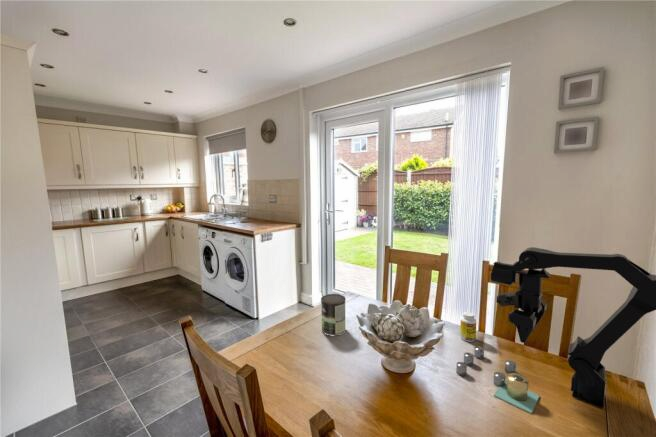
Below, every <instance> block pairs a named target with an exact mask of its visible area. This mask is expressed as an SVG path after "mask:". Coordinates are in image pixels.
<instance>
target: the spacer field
mask: <svg viewBox="0 0 656 437" xmlns="http://www.w3.org/2000/svg"><path fill="white" fill-rule="evenodd" d="M473 348H474V351H473V353H471V352H464V353H463V361H457V362H456V368H455V369H456V375H458V376H460V377H467V372H468V371H467V370H468V367H473V366H474V364H475V362H474V361H475V360H474V359H475V358H476V359H478V360H484V358H485V349H484V347H481V346H477V345H475V346H474V347H473ZM467 366H468V367H467ZM504 371H505V373H506V374H507V375H508V374H509V373H517V362H515V361H513V360H509V359H506V360H505V361H504ZM506 379H507V378H506V375H505V374H504V373H502V372H499V371H494V372H493V385H494V386H496V387H497V388H499V386H502V387H503V386H505V381H506Z"/></svg>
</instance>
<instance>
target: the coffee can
mask: <svg viewBox="0 0 656 437" xmlns="http://www.w3.org/2000/svg"><path fill="white" fill-rule="evenodd" d="M320 302H321V332H322V331H323V332H324V333H326V334H328V335H340V334H342V335H344V334H345V333H344V332H346V331H345V329H346V297H345V296H344V295H342V294H339V293H330V294H329V293H328V294H325V295H323V296H321V298H320ZM323 332H322V333H323ZM324 333H323V334H324ZM343 333H344V334H343ZM328 335H327V336H328ZM340 336H341V335H340Z"/></svg>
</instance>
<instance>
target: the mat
mask: <svg viewBox="0 0 656 437" xmlns="http://www.w3.org/2000/svg"><path fill="white" fill-rule="evenodd" d="M506 389H507V380H505V386H503V387H502V386H499V387H497V390H496V391H495V392H494V394H493V397H494V398H496V399H497V398H498V399H499V400H501V401H503V402H505V403H508V404H510V405H512V406H514V407H516V408H519V409H521V410H523V411H524V412H526V413H529V414H531V415H532V414H533V411H534V409H535V407H536V405H537V403H538V401H539V399H540V397H541V396H540V394H537V393H536V392H532V391H531V390H528V396H527V400H526V401H517V400H514V399H512V398H511V397H510V396H508V394H507V393H506Z"/></svg>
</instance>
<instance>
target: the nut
mask: <svg viewBox="0 0 656 437" xmlns="http://www.w3.org/2000/svg"><path fill="white" fill-rule="evenodd" d="M506 381H507V389H506V393H507V394H508V396H510V397H511V398H512V399H514V400H517V401H526V400H527V396H528V391H529V383H530V382H529V380H528V378H526V377H525V376H524V375H522V374H521V373H517V372H516V373H509V374H508V373H507V378H506Z"/></svg>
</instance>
